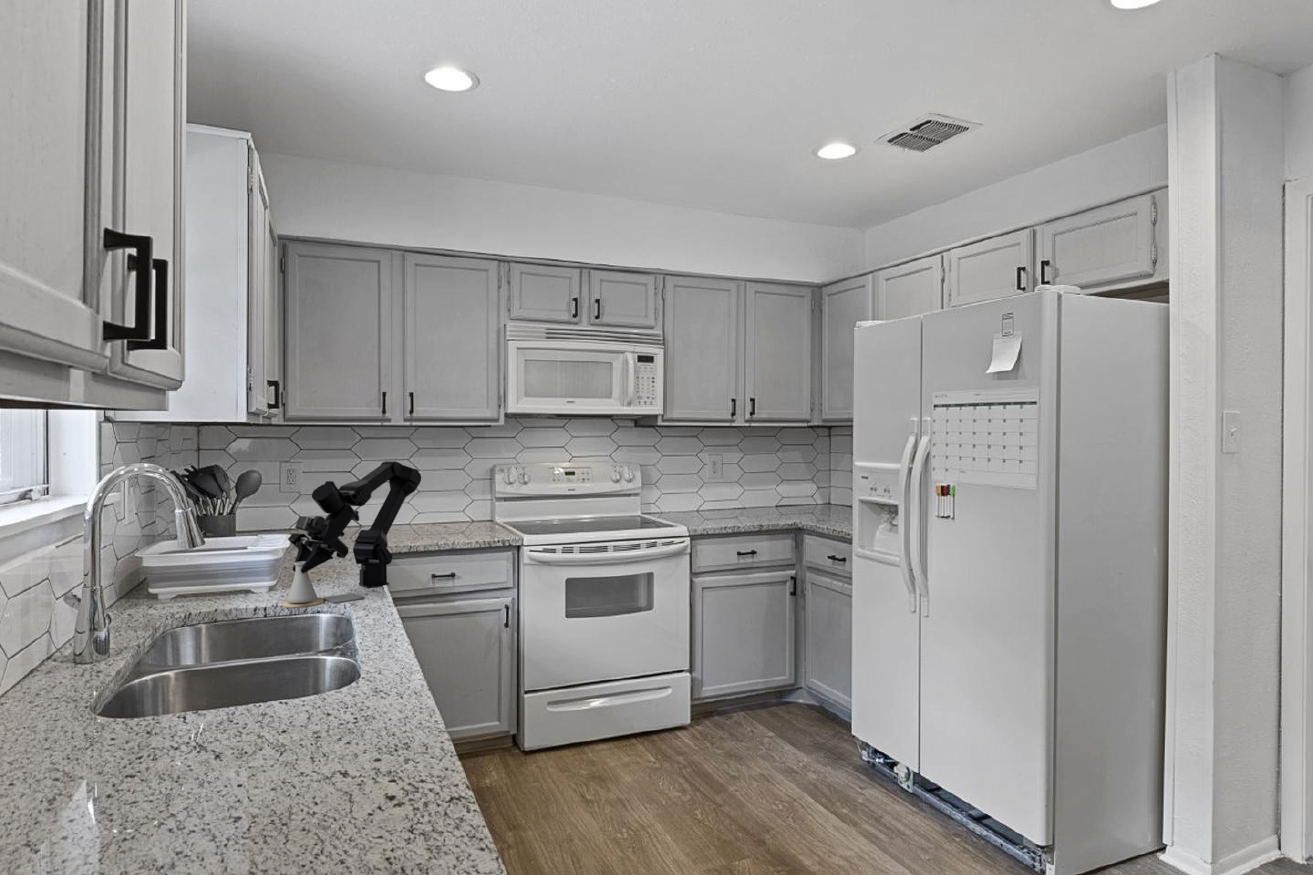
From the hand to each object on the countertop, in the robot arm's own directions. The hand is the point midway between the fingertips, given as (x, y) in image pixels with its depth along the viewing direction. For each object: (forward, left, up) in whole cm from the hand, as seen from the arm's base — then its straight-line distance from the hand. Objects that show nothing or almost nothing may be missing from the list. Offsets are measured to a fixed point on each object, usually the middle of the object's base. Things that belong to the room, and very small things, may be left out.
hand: (297, 571), depth 201 cm
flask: (-1, 0, -8) cm, 8 cm away
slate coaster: (-11, +2, -8) cm, 14 cm away
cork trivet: (-1, 0, -8) cm, 8 cm away
